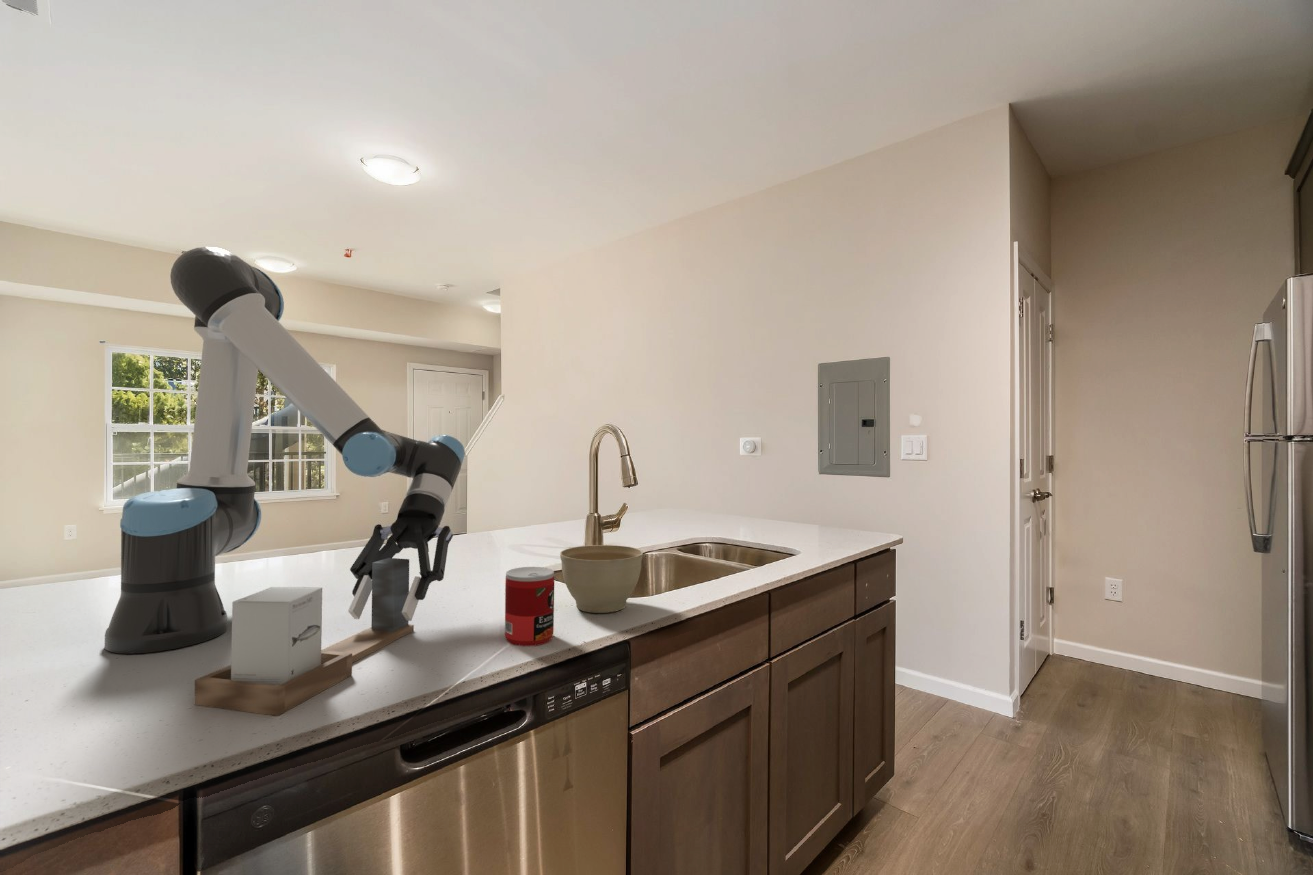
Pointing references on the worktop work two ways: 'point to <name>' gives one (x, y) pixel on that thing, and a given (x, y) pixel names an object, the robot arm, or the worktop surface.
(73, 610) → the worktop surface
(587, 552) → the planter bowl
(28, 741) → the worktop surface
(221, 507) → the robot arm
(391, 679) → the worktop surface
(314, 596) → the supplement box
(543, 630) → the canned food
